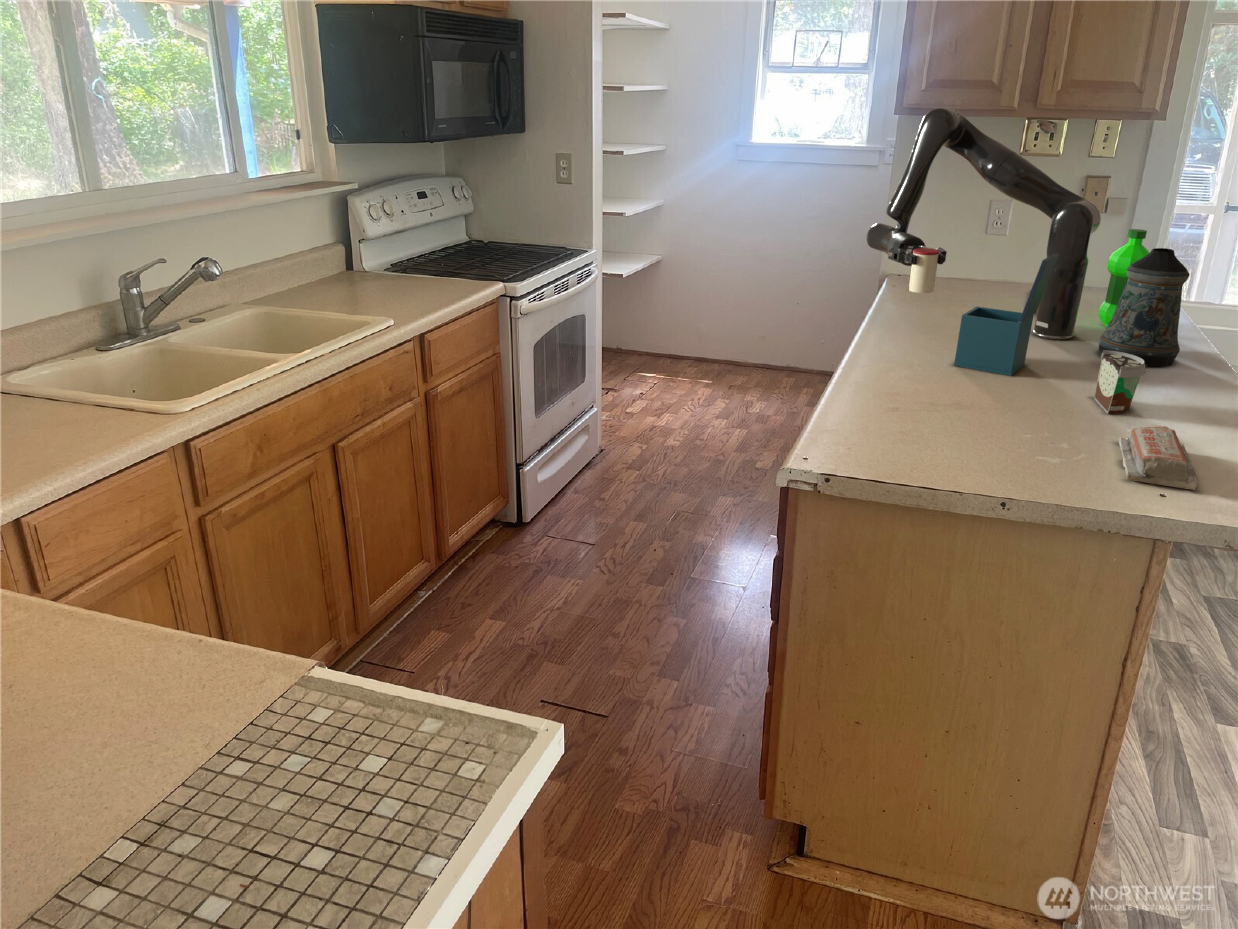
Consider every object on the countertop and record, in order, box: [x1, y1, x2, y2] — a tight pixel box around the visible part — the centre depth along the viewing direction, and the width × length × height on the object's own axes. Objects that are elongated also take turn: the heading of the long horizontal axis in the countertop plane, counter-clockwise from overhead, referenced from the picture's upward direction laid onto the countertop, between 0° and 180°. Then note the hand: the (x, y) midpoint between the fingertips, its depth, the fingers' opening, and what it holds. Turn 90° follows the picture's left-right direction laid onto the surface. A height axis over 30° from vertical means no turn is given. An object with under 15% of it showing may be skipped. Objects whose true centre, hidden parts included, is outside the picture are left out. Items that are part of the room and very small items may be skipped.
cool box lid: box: [1019, 253, 1059, 322], centre depth 188 cm, size 14×11×1 cm
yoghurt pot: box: [908, 247, 939, 294], centre depth 217 cm, size 6×6×10 cm
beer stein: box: [1098, 247, 1190, 368], centre depth 201 cm, size 16×19×25 cm
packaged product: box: [1118, 425, 1199, 491], centre depth 146 cm, size 18×5×10 cm
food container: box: [1093, 350, 1146, 415], centre depth 172 cm, size 12×6×10 cm, turn 168°
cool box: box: [953, 306, 1035, 377], centre depth 198 cm, size 13×11×12 cm
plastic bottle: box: [1098, 228, 1150, 327], centre depth 227 cm, size 10×10×25 cm
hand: (928, 260), depth 213 cm, fingers closed on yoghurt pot, 6 cm apart
